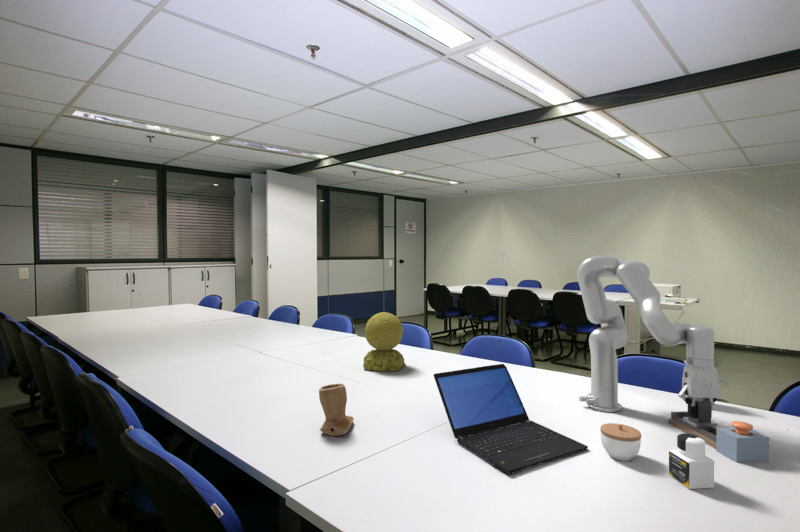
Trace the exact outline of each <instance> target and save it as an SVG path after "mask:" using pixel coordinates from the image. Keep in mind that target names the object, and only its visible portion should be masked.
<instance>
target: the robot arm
mask: <svg viewBox="0 0 800 532" xmlns="http://www.w3.org/2000/svg"><path fill="white" fill-rule="evenodd" d="M576 274H577V276H576V277H577V281H578V282H577V283H578V286H579V289H580V292H581V297H582V302H583V305H584V306H583V307H584V309H585V314H586V319H587V320H588V321H589V322H590V323H591V324H593V325H600V327H597V328H596V329H594V330H592V332H591V333H590V335H589V337H588V344H589V351H590V352H589V353H590V376H591V377H590V382H591V383H590V393H589V392H588V395H586V396H585V395H584V396H583V395H582V396H579V397H578V401H579V402H580V403H581V402H585V403H586V405H587V406H588V408H590V409H593V410H594V411H600V412H606V413H617V412H621V411H622V410H623V405H622V404H621V403H619V402H618V399H619V398H618V397H619V394H618V393H619V392H618V391H619V390H618V389H619V388H618V387H619V386H618V385H619V375H618V374H619V373H618V372H619V361H618V357H617V353H616V352H617V351H616V350H618V349H621V348H624V347H625V345H626V344H627V342H628V331H627V327H626V323H625V319H624V316H623V312H622V309H621V307H620V306H619V303H617V302H616V301H615V300H612V299H608V298H607V297H606V293H605V288H604V286H603V284H602V283H601V281H600V279H601V278H614V279H617V280H619V282H620V283H621V284H622V285H623V287H624V288H625V290H626V291H627V292H628V294H629V295H630V297H631V298H632V299H633V301H634V302H635V303H636V305H637V309H638V312H639V315H640V318H641V320H642V322H643V324H644V325H645V328H647V329H646V330H648V332H649V333H650V334H651V336H652V337H653V338H654V339H655V341H656V342H658V344H660V345H662V346H665V347H673V346H677V345H682V344H686V345H685V346H686V348H685V349H686V353H685V355H686V356H685V357H686V358H685V359H684V360H683V363H684V364H685V365H684V368H683V373H682V379H681V380H682V381H681V390H680V391H679V393H678V395H677V396H678V397H679V399H682V400H683V401H684V402H685V404H686V405H687V412H688V416H690V417H692V418H694V419H696V418H697V407H696V406H695V404H696V400H697V399H702V398H704V399H706V400H708V401H711V419H712V414H713V413H712V412H713V411H712V410H713V407H714V405H715V403H716V401H718V399H719V398H721V397H722V394H721V391H720V390H721V389H720V380H719V374H718V373H719V372H718V369H717V367H715V330H714V328H712V327H710V326H708V325H707V326H706V325H698V324H697V325H696V324H693V325H692V324H688V323H685V322H680V321H679V322H678V321H675V322H674V321H673V322H671V321H670V320H669V319H668V318H667V316H666V314H665V313H664V311H663V310H662V307H661V296H662V295H661V292H660V291H659V289H658V288H657V287H656V286H655V285H654V283H653V282H652V281H651V280H650V275H651V271H650V268H649V267H648V265H647V264H646V263H644V262H642V261H638V260H632V259H628V258H627V259H626V258H622V257H616V256H609V255H606V256H605V255H594V256H591V257H589V258H586V259H585V260H583V262H581V264H580V265H579V267H578V269H577V273H576ZM691 398H692V401H691Z"/></svg>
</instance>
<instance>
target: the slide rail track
mask: <svg viewBox="0 0 800 532" xmlns="http://www.w3.org/2000/svg"><path fill="white" fill-rule="evenodd" d="M683 417H688V410H687V411H670V417H669V418H668V420H667V422H668V424H669V425H672V426H674V427H675V428H677V429H679V430H681V431H682V432H684V433H688V434H693V435H697V436H699V437H701V438H702V439H704V441H705V445H708V446H710V447H711V448H714V449H715V450H716V435H717V428H718V427H710V431H705V430H703V429H701V428H696V427H694V426H692V425H690V424H688V423H686V422H685V421H683Z"/></svg>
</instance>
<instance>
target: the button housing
mask: <svg viewBox="0 0 800 532" xmlns="http://www.w3.org/2000/svg"><path fill="white" fill-rule="evenodd" d="M716 428H717V435H716V449H715V450H716V452H718V453H719V454H720V455H723V456H725V457H726V458H728V459H729V460H731V461H733V462H736V463H749V462H750V463H751V462H770V436H768V435H766V434H764V433H761V432H759V431H757V430H754V429H753V430H749V435H745V436H742V435H740V434H738V433H735V427H716Z"/></svg>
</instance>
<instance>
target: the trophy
mask: <svg viewBox="0 0 800 532" xmlns="http://www.w3.org/2000/svg"><path fill="white" fill-rule="evenodd" d="M403 336H404V328H403V323H402V322H401V320H400V319H399V318H398V317H397V316H396V315H394V314H393V313H390V312H386V311H382V312H377V313H376V314H374V315H371V317H370V318H369V319H368V320H367V322H366V324H365V328H364V337H365V339H366V341H367V343H368V345H370V346H371V347H372V349H370V350H369V351H368V352H367V353H366V354H365V356H364V357H363V366H362V368H363V369H365V370H366V371H376V372H398V370H400V369H402V367H403V366H405V357H404V355H403V354H402V353H401V352H399V350H397V349H394V348H396V347H397V346H398V345H399V344H400V343H401V341H402V339H403Z"/></svg>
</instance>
